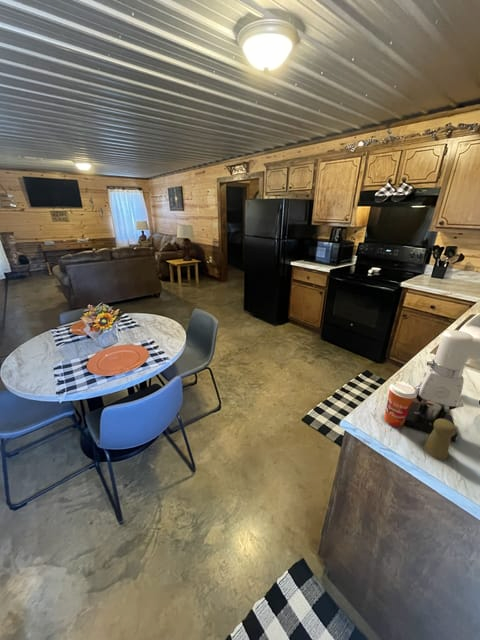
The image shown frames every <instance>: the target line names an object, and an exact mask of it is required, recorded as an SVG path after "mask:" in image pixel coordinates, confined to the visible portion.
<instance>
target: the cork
mask: <svg viewBox="0 0 480 640" xmlns="http://www.w3.org/2000/svg"><path fill="white" fill-rule="evenodd" d="M433 426H434V430H433V431H432V433H431V434H429V436H428V437H427V439H426V441H425V442H424V444H423V450H424V451H425V453H426V454H428V455H429V456H431V457H432V458H435V459H437V460H441V461H442V460H446V459H448V455H449V450H450V444H451V441H450V440H451V436H453V435H454V434H455V433H456V431H457V427H456V425H455V423H454V424H453V423H452V422H450V421H448V420H446V419H437V420H435V422H434V424H433Z"/></svg>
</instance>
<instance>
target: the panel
mask: <svg viewBox="0 0 480 640" xmlns="http://www.w3.org/2000/svg"><path fill="white" fill-rule="evenodd" d="M453 418H454V417H453V416H452V414H449V413H448V414H446V415H445V417H444V418H442V419H446V420H448V421H450V422H452V423H453V424H454V425H455V422H454V419H453ZM433 424H434V422H431V421H428V420H426V419H425V418H423V417H422V415H420V412H419V411H418V406H417V405H413V404H411V406H410V409H409V411H408V413H407V416H406V418H405V420H404V423H403V427H405V428H409V429H411V430H414V431H418V432H421V433H424V434H427V435H430V434H431V433H432V431H433V430H434V426H433ZM458 436H459V434H458V431H457V430H456V433H455V434H454V435H453V436H451V440H450V442H452V443H456V440H457V438H458Z"/></svg>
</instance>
